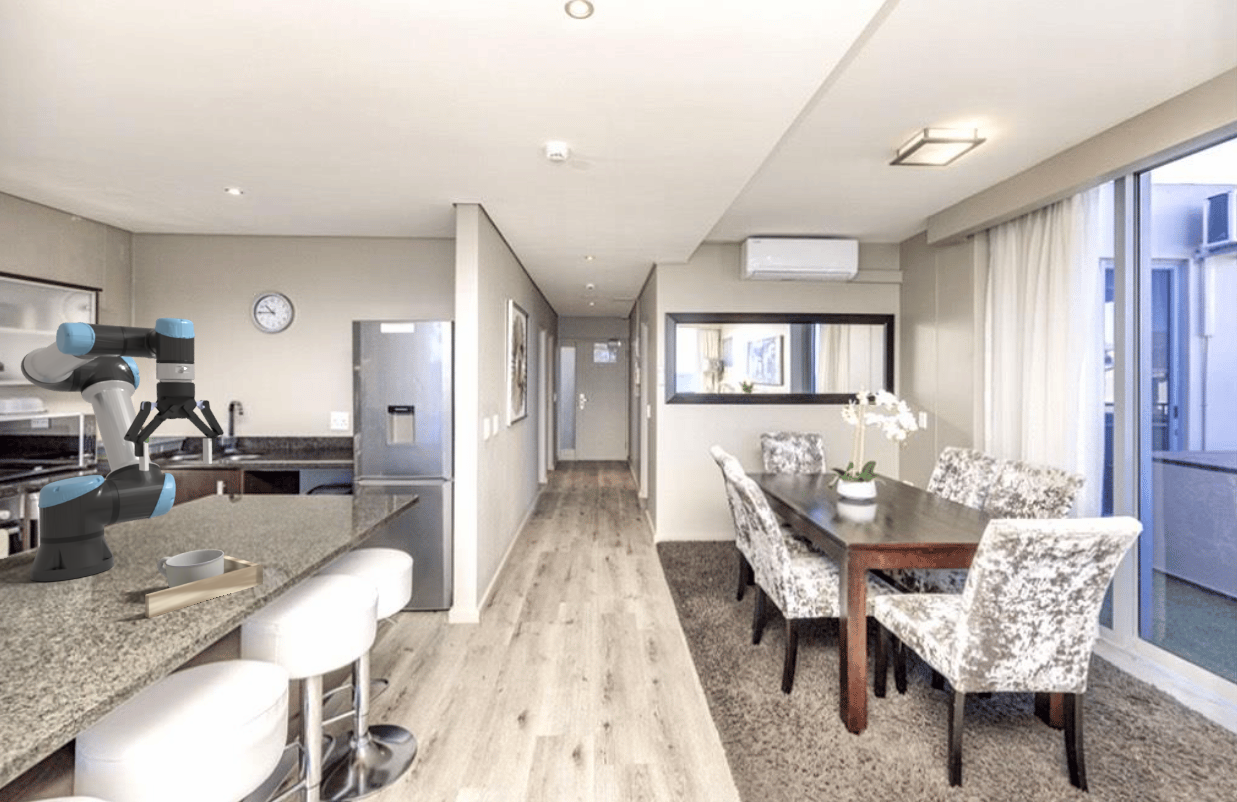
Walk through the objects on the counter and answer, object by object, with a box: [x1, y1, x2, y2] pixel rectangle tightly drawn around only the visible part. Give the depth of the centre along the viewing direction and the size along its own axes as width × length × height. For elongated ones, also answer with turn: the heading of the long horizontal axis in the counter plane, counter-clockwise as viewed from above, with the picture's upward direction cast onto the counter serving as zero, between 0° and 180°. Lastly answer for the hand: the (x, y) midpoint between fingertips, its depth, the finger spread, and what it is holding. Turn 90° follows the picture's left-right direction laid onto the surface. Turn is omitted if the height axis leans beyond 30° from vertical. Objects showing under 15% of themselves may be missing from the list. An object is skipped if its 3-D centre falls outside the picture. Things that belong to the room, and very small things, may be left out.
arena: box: [144, 554, 264, 619], centre depth 129 cm, size 20×22×4 cm
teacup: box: [156, 548, 225, 588], centre depth 130 cm, size 14×11×8 cm
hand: (177, 466), depth 141 cm, fingers open, 13 cm apart
